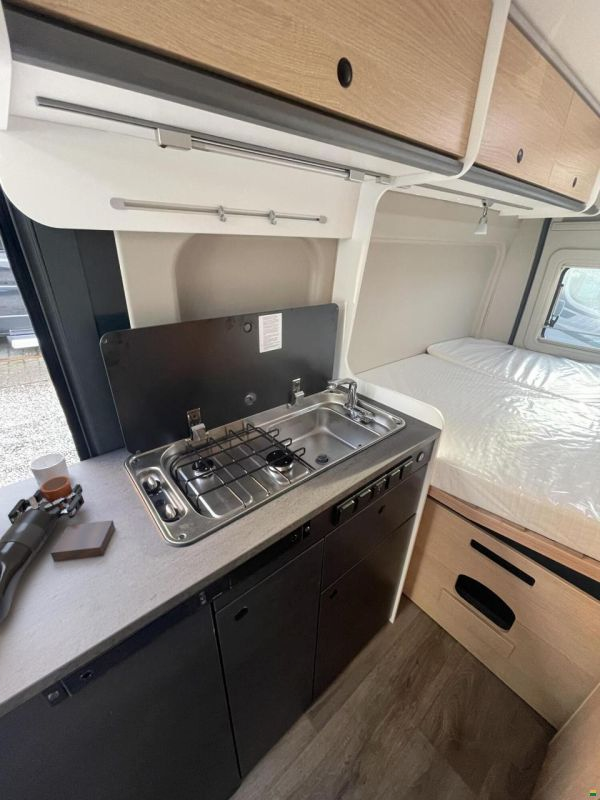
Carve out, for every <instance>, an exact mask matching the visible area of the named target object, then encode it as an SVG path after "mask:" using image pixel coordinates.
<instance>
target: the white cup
mask: <svg viewBox="0 0 600 800" xmlns="http://www.w3.org/2000/svg"><path fill="white" fill-rule="evenodd" d="M28 467H29V469H30V471H31V473H32V475H33V477H34V479H35V481H36V483H37V485H38V487H39V489H40V488H41V486H42V484H43V483H45V482H46V481H48V480H50V479H52V478H55V477H60V476H66V477H68V478H69V479H70V480H71V478H70V473H69V469H68V465H67V462H66V458H65V455H64V454H63V453H61V452H51V453H46V454H43V455H40V456H38V457H36V458H34V459H33V460H32V461H31V462H30V463H29V466H28Z"/></svg>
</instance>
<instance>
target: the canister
mask: <svg viewBox="0 0 600 800" xmlns="http://www.w3.org/2000/svg"><path fill="white" fill-rule="evenodd" d="M69 478H70V477H69ZM69 478H68V477H66V476H60V477H55V478H52V479H50V480H48V481H46V482H45V483H43V484H42V486H41V488H40V487H39V489H41V492H42V494H43V497H44V498H43V499H44V502H51V501H56V500H58V499H59V498H61V497H66V496H68V495H69V494H71V492H72V490H73V489H74V487H73V484H72V481H71V478H70V479H69ZM70 501H71V499H69V500H68V501H67V502H70ZM59 505H60V507H61V508H62V507H63V504H62V502H61V503H60V504H59Z"/></svg>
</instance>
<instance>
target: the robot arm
mask: <svg viewBox="0 0 600 800" xmlns="http://www.w3.org/2000/svg"><path fill="white" fill-rule="evenodd" d="M83 491H84V489H83V487H82V485H81V484H80V483H79V484H75V486H74V487H73V490H72V492H71V494H69V495H68V496H66V497H61V498H59V499H58V500H56V501H51V502H45V501H42V500H43V499H44V497H43V494H42V492H41V489H40V488H39V489H38V490H36V491H35V493H34V494H33V495H32V496H30V497H28V498H27V499H25V498H21V499H19V500H18V502H17V503H16V504H15V505H14V507H13V508H12V509H11V510H10V512H9V513H7V518H8V520H9V522H10V523H11V525H10V527H9V528H8V529H7V530H6V531H5V532H4V534H3V535H2V536H1V538H0V624H2V623H3V621H4V620H5V619H6V618H7V616H8V615H9V612H10V610H11V606H12V602H13V600H14V599H13V598H14V596H15V592H16V589H17V587H18V584H19V581H20V579H21V577H22V575H23V573H24V572H25V570H26V569H27V567H28V565H29V564H30V563H31V561H32V560H33V559H34V557H35V556H36V555H37V554H38V553H39V551H40V550H41V548H42V547H43V545H44V544H45V543H46V541H47V539H48V538H49V536H50V535H51V533H53V530H54V529H55V527H56V524H57V521H58V520H59V519H61V518H62V517H68V518H69V519H73V518H75V516H76V515H77V513H78V512H79V511H80V510H81V508H82V506H83V505H84V503H85V500H84V497H83V494H82V493H83ZM69 499H71V501H70V502H67V501H68V500H69ZM61 502H62V504H63V507H62V508H61V507H60V505H59V504H60V503H61ZM29 507H30V508H29ZM28 508H29V509H28Z"/></svg>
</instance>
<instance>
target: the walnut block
mask: <svg viewBox="0 0 600 800" xmlns="http://www.w3.org/2000/svg"><path fill="white" fill-rule="evenodd" d="M115 531H116V527H115V522H114V520H104V521H94V522H84V523H75V524H67V526H66V528H65V529H64V530H63V532H62V533H61V535H60V536H59V539H58V540H57V542H56V543H55V545H54V546H53V548H52V550H51V552H50V555H51V558H52V560H53V562H54V563H58V562H65V561H75V560H83V559H91V558H98V557H99V558H100V557H104V555H105V554H106V551H107V549H108V547H109V544H110V542H111V539H112V538H113V535H114V533H115Z"/></svg>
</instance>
